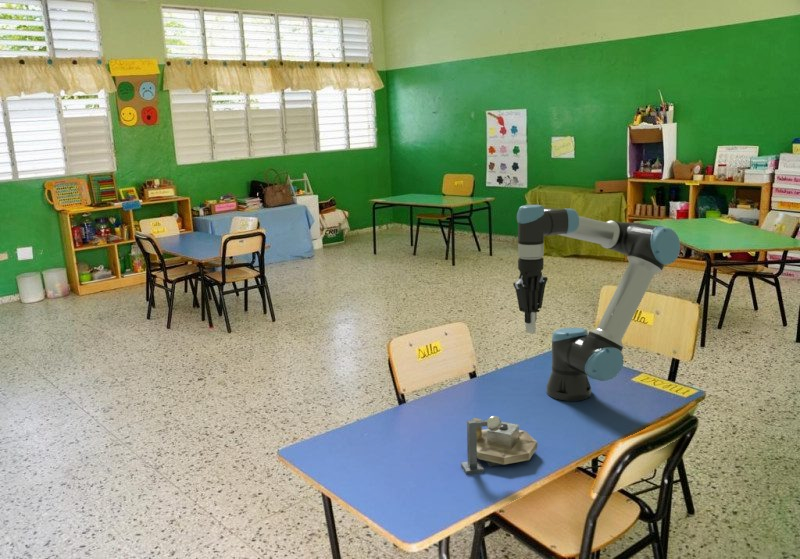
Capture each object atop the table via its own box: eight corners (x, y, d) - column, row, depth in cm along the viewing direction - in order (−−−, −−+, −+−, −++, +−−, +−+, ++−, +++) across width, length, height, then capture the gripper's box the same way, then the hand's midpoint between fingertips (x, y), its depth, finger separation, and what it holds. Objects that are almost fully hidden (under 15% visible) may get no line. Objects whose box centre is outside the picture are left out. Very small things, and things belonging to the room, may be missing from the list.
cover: (495, 433, 196) (495, 418, 195) (518, 437, 192) (518, 422, 191) (487, 443, 190) (487, 428, 189) (510, 448, 186) (510, 432, 185)
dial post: (496, 460, 187) (496, 410, 184) (503, 469, 183) (503, 418, 179) (460, 465, 185) (459, 415, 182) (466, 474, 180) (465, 422, 177)
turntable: (483, 429, 203) (483, 408, 201) (542, 440, 194) (542, 418, 193) (460, 455, 188) (459, 432, 186) (522, 468, 179) (523, 444, 177)
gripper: (535, 252, 207) (535, 325, 212) (506, 258, 199) (506, 334, 204) (554, 255, 201) (554, 330, 206) (525, 261, 193) (525, 339, 199)
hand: (530, 332), depth 205 cm, fingers closed
